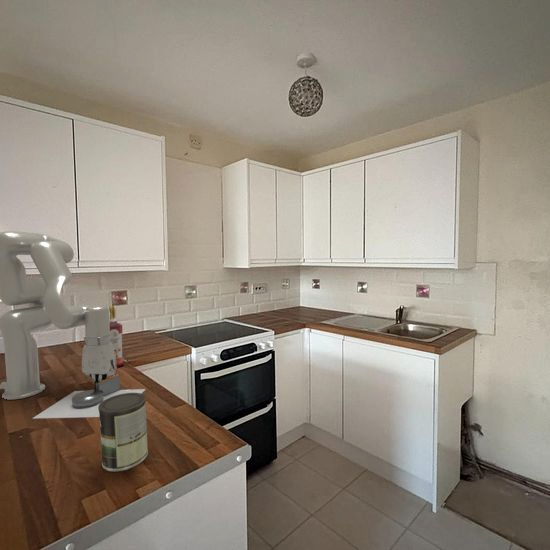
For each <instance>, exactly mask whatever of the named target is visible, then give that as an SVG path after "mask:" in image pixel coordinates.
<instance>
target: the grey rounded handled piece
mask: <svg viewBox="0 0 550 550" xmlns="http://www.w3.org/2000/svg"><path fill="white" fill-rule="evenodd" d="M117 390H121V380H120V375H119V374H118V373H117V374H116V375H114V376H111V377H108V378H106V379H103V380H100V381H99V382H97V383H96V389H95V388H94V389H89V390H88V389H87V390H82V391H83V392H80V393H78V394H76V395H74V396H73V397H72V406H73V407H74V408H85V407H90V406H93V405H96V404H98V403H100V402H102V401H103V399H104V397H103V396H105V395H107V394H110V393H112V392H114V391H117Z"/></svg>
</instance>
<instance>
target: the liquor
mask: <svg viewBox="0 0 550 550" xmlns="http://www.w3.org/2000/svg"><path fill="white" fill-rule="evenodd" d="M108 308H109V324H110V343H112V347H113V349H114V351H115V353H116V359H117V367H118V368H120V367H121V366H122V365H124V363H125V362H124V361H123V360H124V359H123V357H124V356H123V339H124V338H123V337H124V336H123V335H124V334H123V324H121V323H120V322H118V320H117V313H116V311H117V306H116V305H109V306H108ZM119 366H120V367H119Z"/></svg>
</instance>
